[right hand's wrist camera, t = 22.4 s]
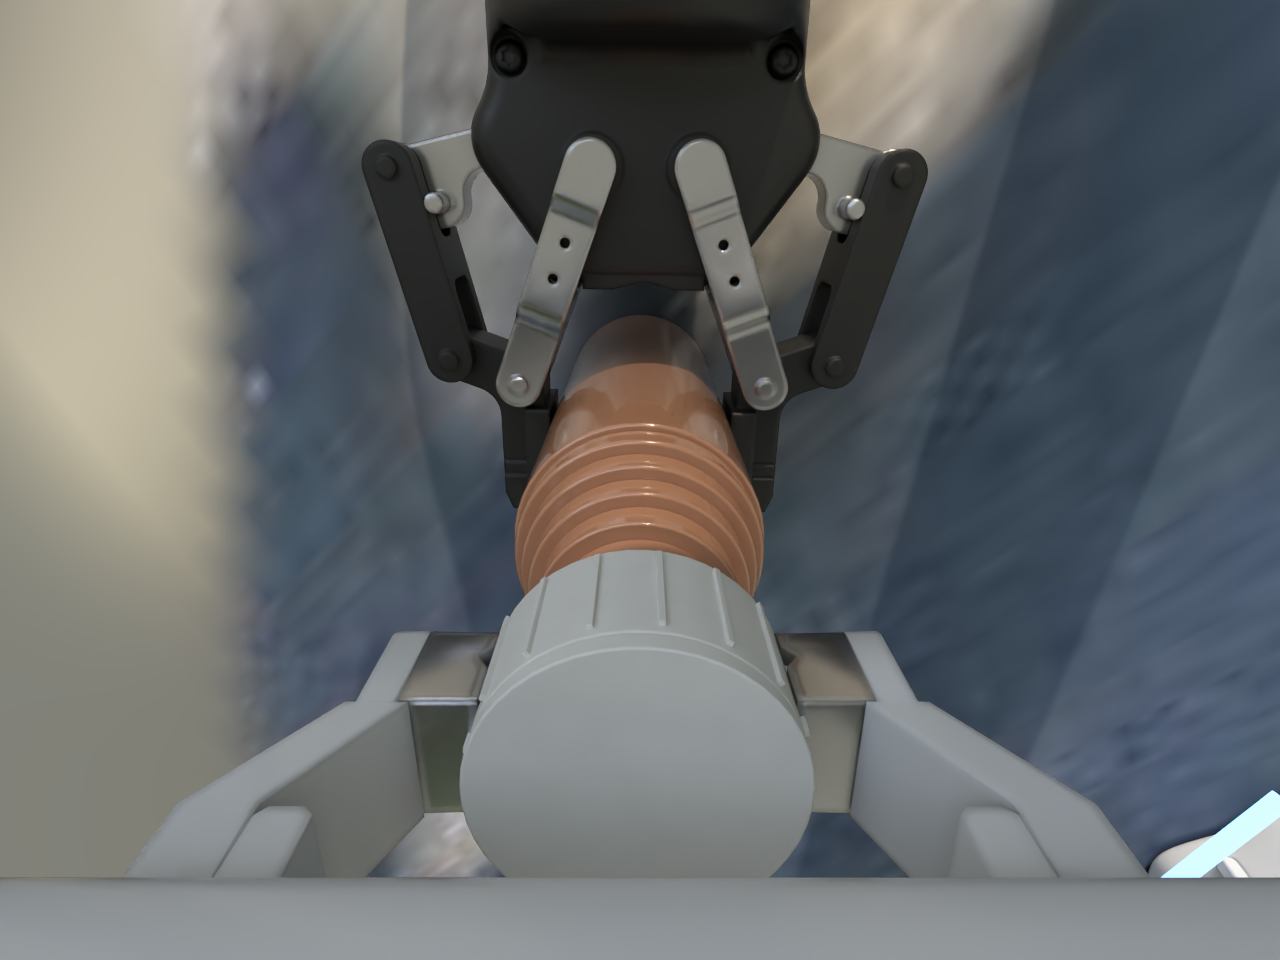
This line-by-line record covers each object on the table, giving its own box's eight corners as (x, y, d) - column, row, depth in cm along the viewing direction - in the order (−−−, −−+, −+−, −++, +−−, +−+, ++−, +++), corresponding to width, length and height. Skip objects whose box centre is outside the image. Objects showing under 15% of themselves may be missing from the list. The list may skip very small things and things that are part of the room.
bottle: (711, 316, 26) (867, 582, 8) (704, 447, 28) (817, 903, 10) (572, 312, 26) (417, 573, 8) (574, 445, 28) (450, 897, 10)
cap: (780, 779, 11) (813, 917, 9) (513, 792, 11) (483, 932, 9) (783, 537, 10) (823, 635, 7) (474, 555, 10) (428, 655, 8)
